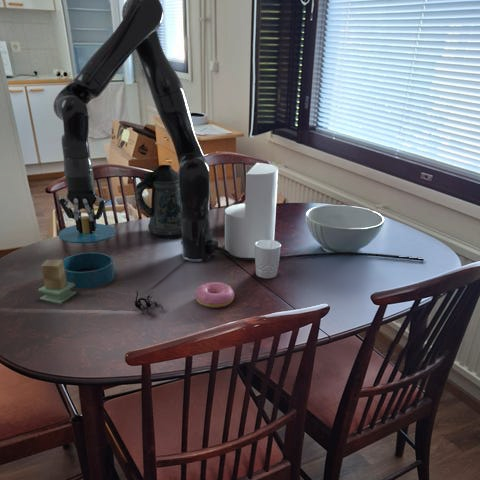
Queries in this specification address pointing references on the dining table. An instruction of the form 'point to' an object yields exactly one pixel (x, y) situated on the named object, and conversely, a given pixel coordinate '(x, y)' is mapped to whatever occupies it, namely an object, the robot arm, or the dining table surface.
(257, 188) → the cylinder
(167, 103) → the robot arm
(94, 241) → the tin lid
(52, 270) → the block
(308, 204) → the dining table surface
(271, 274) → the white cup
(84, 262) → the tin
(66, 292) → the stand
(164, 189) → the beer stein
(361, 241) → the decorative bowl
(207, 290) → the doughnut
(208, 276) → the dining table surface
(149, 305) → the creature
